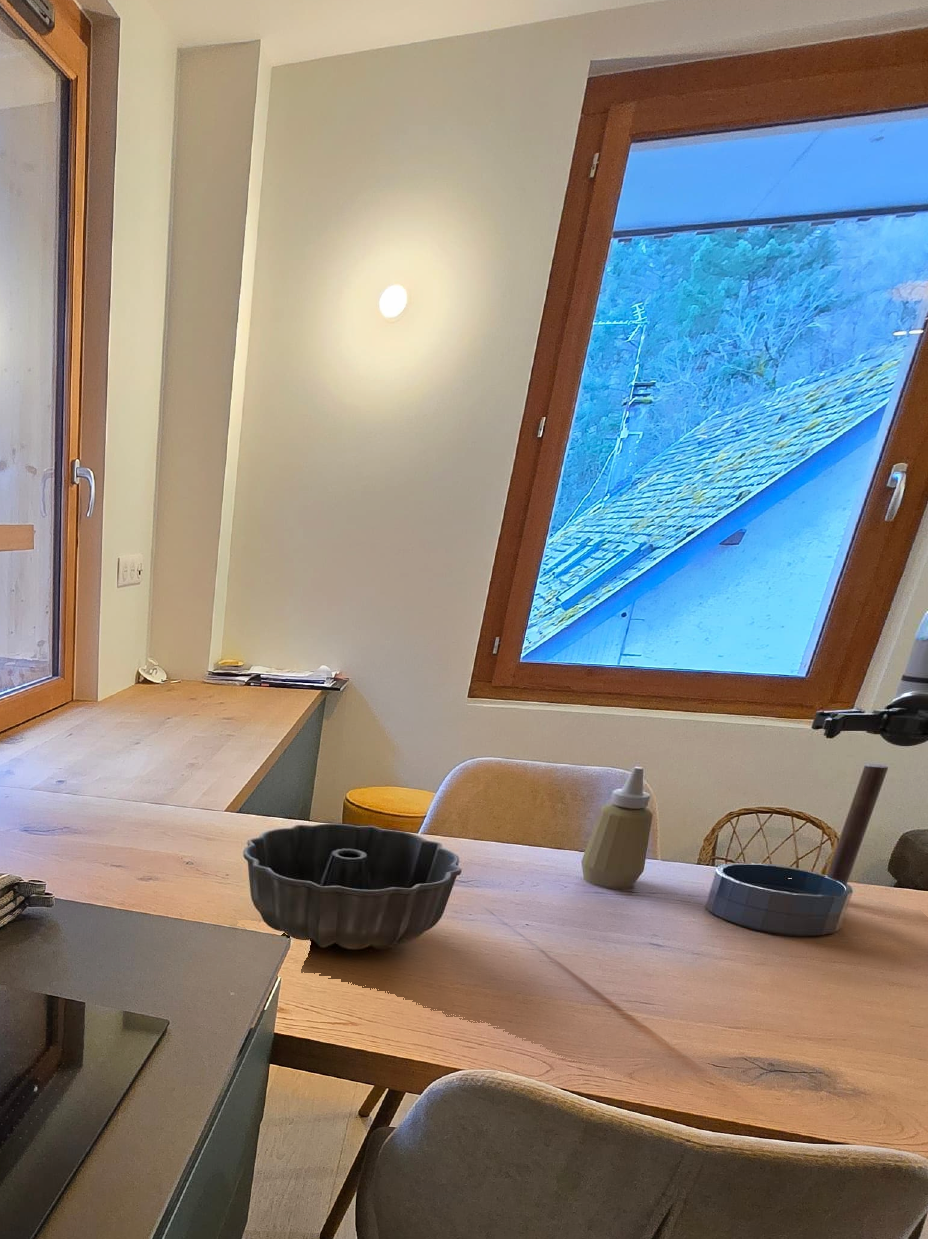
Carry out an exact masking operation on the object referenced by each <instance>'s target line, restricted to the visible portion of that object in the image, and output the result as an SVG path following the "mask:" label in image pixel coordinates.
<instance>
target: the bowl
mask: <svg viewBox="0 0 928 1239" xmlns="http://www.w3.org/2000/svg"><path fill="white" fill-rule="evenodd" d="M788 878H792V879H788ZM853 893H854V890H853V887H852V886H851V885H850V884H848V883H847V884H846V883H845V882H843V881H840V880H838V879H835V878H833V877H830V876H827V874H823V873H819V872H816V871H812V870H807V869H801V868H797V867H792V866H786V865H778V864H770V863H760V862H759V863H758V862H731V863H723V864H720V865H719V866H716V868H715V871H714V874H713V878H712V881H711V885H710V888H709V891H708V895H707V899H706V901H705V906H704V907H705V908H706V909H707V910H708V911H709V912H710V913H711V914H713V915H715V916H717V917H719V918H721V919H723V920H725V921H727V922H730V923H732V924H735V925H737V926H740V927H743V928H746V929H749V930H753V931H758V932H762V933H766V934H772V935H779V936H788V937H801V938H803V937H804V938H807V937H808V938H809V937H820V936H824V935H830V934H834V933H836V932H838V931H839V930H840V929H841V927H842V924H843V920H844V918H845V915H846V913H847V911H848V907H849V904H850V902H851V899H852V896H853Z"/></svg>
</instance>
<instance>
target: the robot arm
mask: <svg viewBox="0 0 928 1239" xmlns="http://www.w3.org/2000/svg"><path fill="white" fill-rule="evenodd" d="M810 728H811V729H812V730H816V731H819V730H823V731H824V732H823V737H825V738H826V739H834V738H836V737H837V736H839V735H840V734H841V732H866V733H867V734H872V735H879V736H880V737H881V738H882V739H883V740H884V741H886V742H887V743H889V744H891V745H894V746H899V747H915V746H918V745H922V744H924V743H926V742H928V610H927V611H926V612H925V614H924V616H923V617H922V620H921V622H920V623H919V626H918V628H917V630H916V633H915V635H914V641H913V644H912V647H911V650H910V652H909V657H908V660H907V663H906V665H905V669H904V672H903V674H902V676H901V679H900V680H899V682H898V686H897V688H896V691H895V694H894V697H893V700H892V701H891V702H889V703H888V704H887V705H885V707H883V709H875V710H873V711H872V712H866V710H864V709H863V708H861V707H856V708H852V709H839V710H817V711H816V712H815V715H814V718H813V720H812V724H811V727H810Z"/></svg>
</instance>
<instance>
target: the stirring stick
mask: <svg viewBox="0 0 928 1239" xmlns="http://www.w3.org/2000/svg"><path fill="white" fill-rule="evenodd" d="M888 769H889V767H888V765H882V764H875V763H866V764H864V767H863V770H862V772H861V774H860V778H859V781H858V784H857V786H856V789H855V793H854V796H853V798H852V801H851V804H850V806H849V810H848V813H847V816H846V818H845V821H844V824H843V827H842V829H841V833H840V835H839V839H838V842H837V845H836V847H835V850H834V853H833V856H832V859H831V862H830V864H829V867H828V869H827V870H828V871H827V874H826V875H827V876H830V877H833V878H835V879H838V880H840V881H843V882H845V883H846V884H848V882H849V879H850V877H851V874H852V871H853V868H854V865H855V863H856V860H857V857H858V854H859V851H860V848H861V845H862V843H863V840H864V837H865V834H866V832H867V829H868V826H869V823H870V821H871V817H872V814H873V812H874V810H875V807H876V804H877V800H878V798H879V795H880V792H881V789H882V787H883V784H884V781H885V778H886V775H887V773H888Z"/></svg>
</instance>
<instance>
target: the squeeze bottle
mask: <svg viewBox="0 0 928 1239" xmlns="http://www.w3.org/2000/svg"><path fill="white" fill-rule="evenodd" d="M650 798H651V794H650V793H649V792H646V791H644V767H642V766H633V767H632V769H631V771H630V773H629V775H628V777H627V779H626V781H625V783H624V784H623V787H622V788H616V789H614V790H613V791H612V794H611V797H610V801H609V803H606V804H605V805H603V806H601V808H600V811H599V814H598V816H597V819H596V821H595V823H594V826H593V829H592V832H591V834H590V837H589V840H588V842H587V845H586V848H585V851H584V854H583V856H582V859H581V869H582V870H581V871H582V877H583V880H584V881H585V882H586V883H588V884H590V885H592V886H596V887H599V888H605V889H610V890H626V889H627V890H628V889H630V888H632V887H633V886H634V885H635V883H636V882H637V881H638V879H639V878H640V876H641V875H642V874H643V872H644V871H645V864H646V859H647V854H648V852H647V851H648V847H649V840H650V835H651V834H650V833H651V827H652V822H653V816H654V815H653V814H654V813H653V811H651V809H649V807H648V804H649V802H650Z"/></svg>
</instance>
